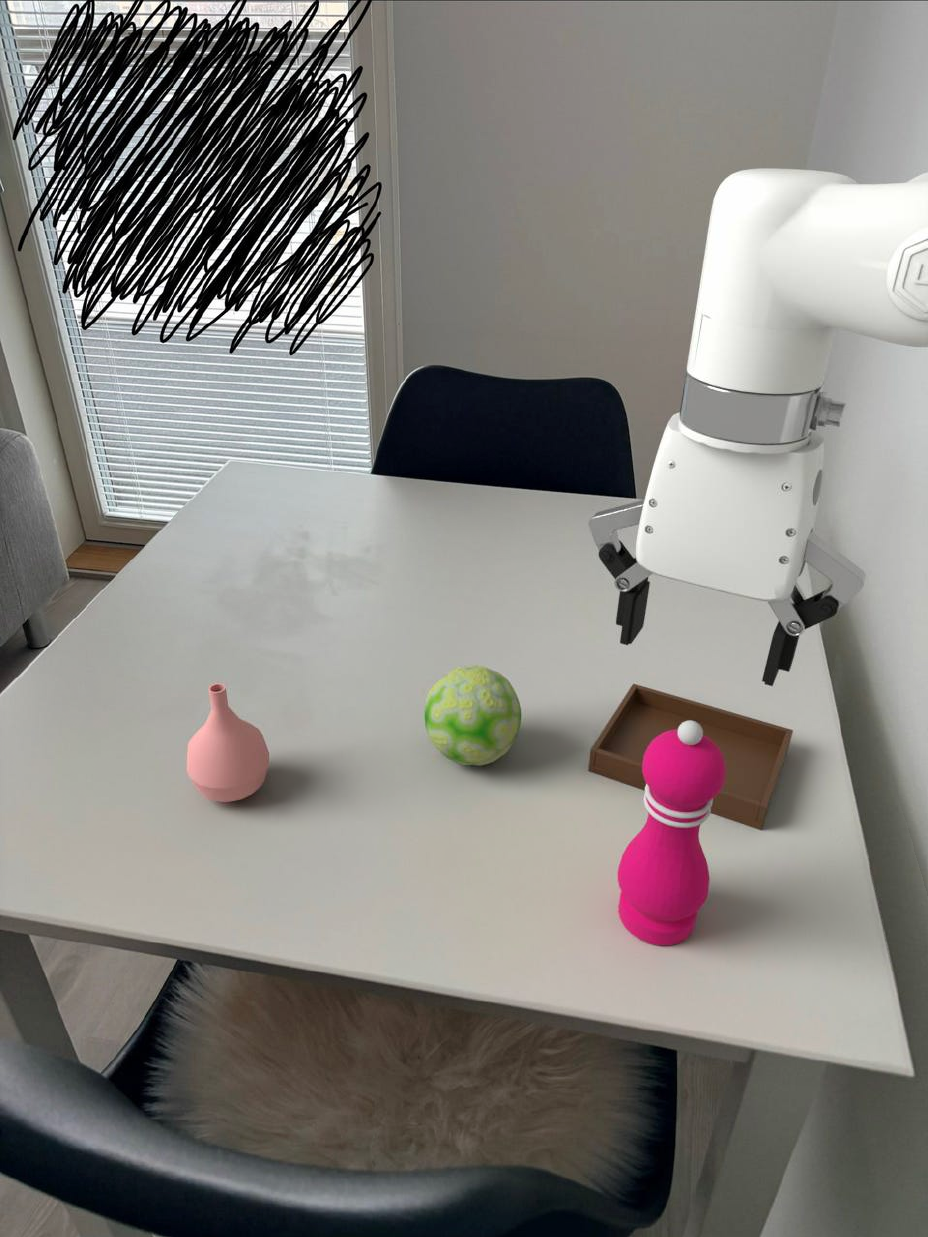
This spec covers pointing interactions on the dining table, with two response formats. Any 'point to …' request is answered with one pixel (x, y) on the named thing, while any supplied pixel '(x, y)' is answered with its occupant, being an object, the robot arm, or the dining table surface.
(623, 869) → the pepper mill
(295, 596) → the dining table surface
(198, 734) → the pink bulb vase
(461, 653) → the dining table surface
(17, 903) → the dining table surface
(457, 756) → the decorative ball
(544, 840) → the dining table surface
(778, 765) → the tray
